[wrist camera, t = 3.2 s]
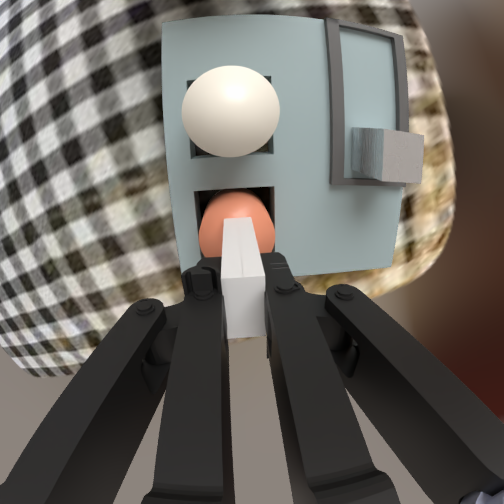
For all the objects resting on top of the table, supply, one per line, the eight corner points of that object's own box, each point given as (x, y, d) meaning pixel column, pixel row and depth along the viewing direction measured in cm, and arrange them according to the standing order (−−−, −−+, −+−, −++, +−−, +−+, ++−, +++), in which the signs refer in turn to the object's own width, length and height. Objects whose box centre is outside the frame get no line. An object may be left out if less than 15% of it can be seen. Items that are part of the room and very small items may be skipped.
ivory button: (195, 154, 15) (184, 161, 12) (191, 84, 14) (179, 70, 10) (268, 149, 16) (280, 155, 12) (266, 80, 14) (278, 64, 10)
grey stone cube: (351, 169, 17) (381, 181, 13) (352, 127, 15) (383, 128, 12) (386, 171, 17) (421, 183, 13) (388, 131, 15) (424, 135, 12)
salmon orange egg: (207, 247, 20) (203, 274, 17) (201, 189, 18) (194, 204, 15) (266, 244, 20) (275, 269, 17) (265, 185, 19) (274, 199, 15)
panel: (187, 267, 21) (182, 287, 19) (169, 34, 14) (160, 20, 11) (377, 253, 22) (393, 269, 20) (383, 44, 15) (403, 36, 12)
